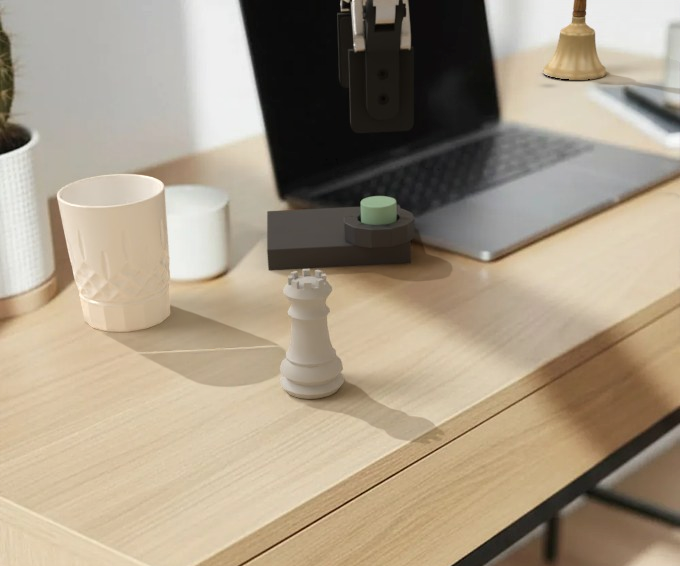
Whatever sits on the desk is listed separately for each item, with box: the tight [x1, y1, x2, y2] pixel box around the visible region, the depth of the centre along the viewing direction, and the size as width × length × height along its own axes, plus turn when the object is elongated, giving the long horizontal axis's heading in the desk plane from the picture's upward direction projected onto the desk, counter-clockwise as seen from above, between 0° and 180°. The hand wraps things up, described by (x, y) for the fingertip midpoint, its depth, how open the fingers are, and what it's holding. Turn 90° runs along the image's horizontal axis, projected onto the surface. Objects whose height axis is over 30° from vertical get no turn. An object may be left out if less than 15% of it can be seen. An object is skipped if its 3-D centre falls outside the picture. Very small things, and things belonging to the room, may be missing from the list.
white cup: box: [56, 173, 171, 333], centre depth 91 cm, size 8×8×10 cm
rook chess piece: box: [279, 268, 345, 400], centre depth 80 cm, size 4×4×8 cm
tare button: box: [360, 195, 397, 225], centre depth 101 cm, size 3×3×2 cm
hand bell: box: [542, 0, 607, 81], centre depth 153 cm, size 8×8×16 cm
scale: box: [266, 204, 416, 271], centre depth 104 cm, size 12×11×4 cm
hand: (374, 106), depth 66 cm, fingers open, 9 cm apart
